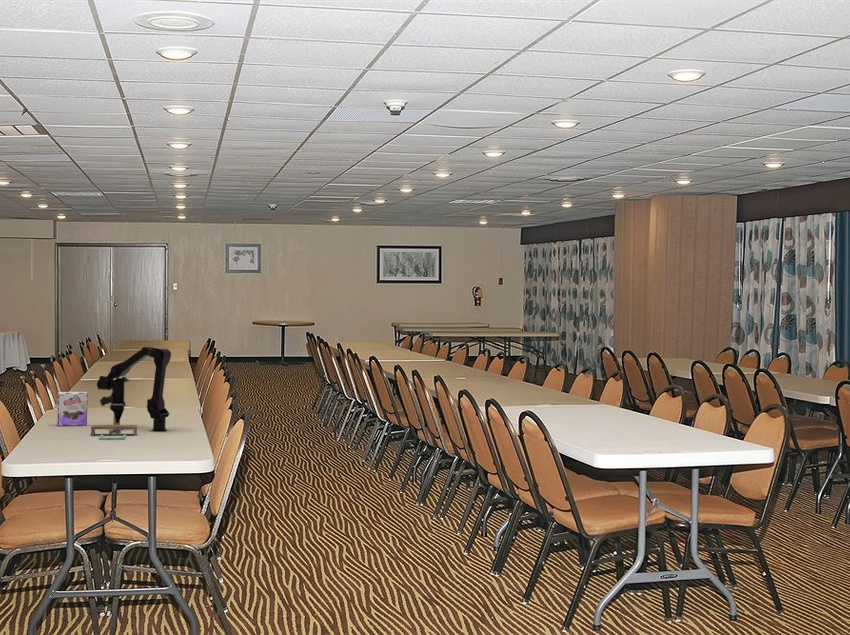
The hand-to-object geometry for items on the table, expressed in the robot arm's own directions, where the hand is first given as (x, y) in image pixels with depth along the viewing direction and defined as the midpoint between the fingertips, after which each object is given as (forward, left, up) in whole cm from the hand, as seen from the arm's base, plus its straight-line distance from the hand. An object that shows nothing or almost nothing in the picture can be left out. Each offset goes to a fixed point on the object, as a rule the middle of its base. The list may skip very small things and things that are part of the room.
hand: (117, 422), depth 486 cm
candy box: (-9, -22, -3) cm, 24 cm away
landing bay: (+35, 0, -2) cm, 35 cm away
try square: (+9, 0, -2) cm, 9 cm away
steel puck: (+25, 0, -2) cm, 25 cm away
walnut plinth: (+25, 0, -2) cm, 25 cm away
